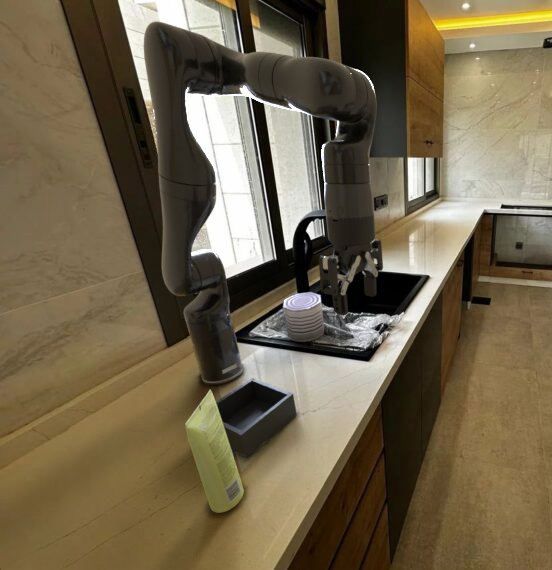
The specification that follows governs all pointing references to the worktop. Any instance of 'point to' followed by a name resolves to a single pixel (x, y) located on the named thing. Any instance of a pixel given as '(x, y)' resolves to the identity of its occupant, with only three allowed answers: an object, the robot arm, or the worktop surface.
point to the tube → (214, 456)
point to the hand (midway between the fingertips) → (357, 304)
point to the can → (304, 316)
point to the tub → (254, 414)
